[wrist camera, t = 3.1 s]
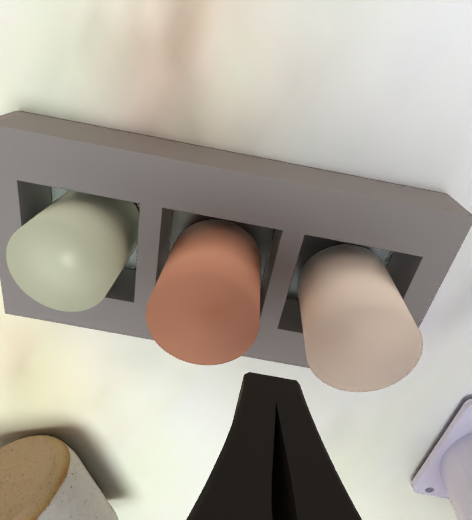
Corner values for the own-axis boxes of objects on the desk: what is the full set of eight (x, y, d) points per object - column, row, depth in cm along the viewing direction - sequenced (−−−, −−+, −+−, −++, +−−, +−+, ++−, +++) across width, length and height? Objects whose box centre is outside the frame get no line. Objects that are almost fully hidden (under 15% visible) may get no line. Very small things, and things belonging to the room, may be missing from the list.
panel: (447, 193, 16) (475, 217, 13) (376, 345, 19) (390, 382, 17) (18, 110, 15) (-22, 121, 13) (33, 283, 19) (5, 313, 17)
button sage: (144, 191, 16) (111, 232, 13) (140, 265, 18) (109, 319, 14) (57, 174, 16) (0, 211, 13) (61, 250, 18) (11, 301, 14)
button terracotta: (269, 229, 15) (270, 285, 12) (251, 304, 17) (247, 373, 13) (176, 211, 15) (149, 263, 11) (168, 289, 17) (142, 354, 13)
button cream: (401, 254, 15) (442, 317, 12) (369, 326, 17) (397, 399, 13) (310, 236, 15) (323, 295, 12) (288, 311, 17) (294, 381, 13)
